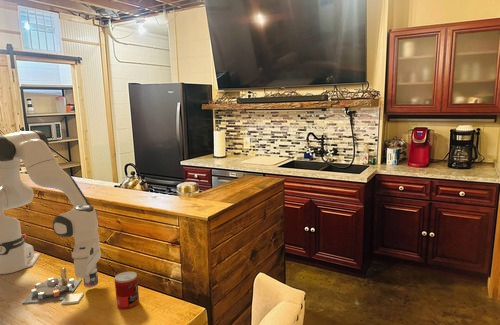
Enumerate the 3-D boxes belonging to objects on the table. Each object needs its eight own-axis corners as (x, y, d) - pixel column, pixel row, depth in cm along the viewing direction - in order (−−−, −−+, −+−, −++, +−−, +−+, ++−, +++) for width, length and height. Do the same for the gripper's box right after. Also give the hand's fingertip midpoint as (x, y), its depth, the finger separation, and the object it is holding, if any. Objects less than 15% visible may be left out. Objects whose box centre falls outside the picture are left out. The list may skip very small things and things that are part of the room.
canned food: (132, 310, 126) (130, 281, 124) (112, 308, 127) (109, 280, 126) (143, 299, 133) (141, 271, 131) (124, 297, 135) (121, 270, 133)
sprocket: (29, 288, 142) (27, 267, 141) (70, 277, 151) (67, 257, 150) (34, 303, 130) (31, 280, 129) (77, 290, 139) (75, 268, 138)
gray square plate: (41, 283, 148) (41, 282, 148) (83, 280, 150) (82, 278, 150) (22, 304, 132) (22, 302, 132) (68, 300, 134) (68, 298, 134)
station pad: (67, 296, 137) (67, 294, 137) (83, 294, 138) (83, 293, 137) (61, 304, 131) (61, 302, 131) (78, 303, 132) (78, 301, 132)
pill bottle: (83, 289, 139) (81, 267, 137) (85, 282, 143) (83, 262, 142) (97, 286, 140) (95, 265, 139) (99, 280, 145) (97, 260, 144)
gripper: (87, 236, 149) (90, 267, 151) (69, 256, 129) (73, 291, 131) (103, 235, 150) (105, 266, 152) (87, 255, 130) (91, 289, 132)
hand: (90, 278), depth 141 cm, fingers closed on pill bottle, 5 cm apart
